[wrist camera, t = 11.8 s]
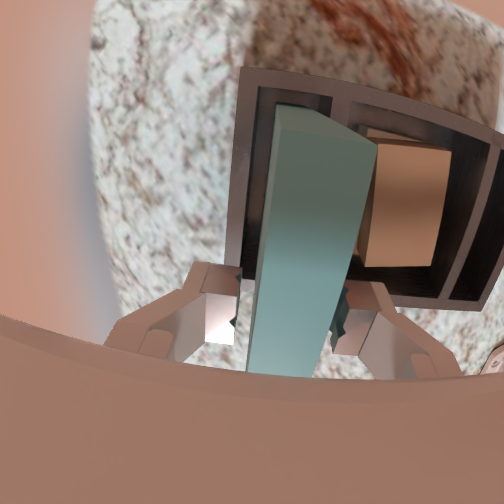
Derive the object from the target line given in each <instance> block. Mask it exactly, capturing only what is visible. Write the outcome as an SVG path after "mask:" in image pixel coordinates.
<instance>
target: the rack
mask: <svg viewBox="0 0 504 504" xmlns="http://www.w3.org/2000/svg"><path fill="white" fill-rule="evenodd" d="M276 102H283V103H290V104H297V105H304V106H307V107H309V108H311V109H313V110H315V111H317V112H319V113H321V114H323V115H325V116H326V117H328V118H330V119H332V120H334V121H336V122H338V123H340V124H341V125H343V126H345V127H347V128H349V129H350V130H352V131H354V132H356V133H357V130H358V124H362V125H367V126H371V127H376V128H380V129H384V130H388V131H392V132H396V133H400V134H404V135H407V136H411V137H415V138H418V139H422V140H425V141H428V142H431V143H434V144H436V145H438V146H440V147H443V148H445V149H447V150H449V151H451V160H450V168H449V176H448V183H447V189H446V195H445V201H444V207H443V212H442V217H441V222H440V227H439V232H438V236H437V241H436V245H435V249H434V253H433V257H432V261H431V265H430V266H394V267H365V266H364V264H363V262H362V259H361V257H360V255H355V254H352V257H351V261H350V264H349V267H348V271H347V274H346V278H345V280H356V281H369V282H382V283H383V284H384V285H385V287H386V289H387V291H388V293H389V296H390V298H391V300H392V302H393V304H394V306H396V307H409V308H424V309H440V310H458V311H478V312H481V310H482V309H483V307H484V305H485V303H486V301H487V299H488V297H489V295H490V293H491V291H492V289H493V287H494V285H495V283H496V281H497V279H498V277H499V275H500V272H501V270H502V268H503V266H504V134H502V133H499V132H497V131H495V130H493V129H491V128H488V127H486V126H484V125H482V124H479V123H477V122H475V121H472V120H470V119H467V118H465V117H462V116H460V115H457V114H455V113H452V112H449V111H447V110H444V109H441V108H438V107H435V106H432V105H430V104H427V103H424V102H420V101H417V100H414V99H411V98H408V97H404V96H401V95H398V94H394V93H390V92H387V91H383V90H379V89H375V88H371V87H367V86H363V85H359V84H354V83H350V82H345V81H340V80H335V79H330V78H325V77H319V76H314V75H307V74H301V73H294V72H287V71H279V70H271V69H261V68H250V67H241V70H240V79H239V89H238V99H237V109H236V119H235V130H234V141H233V153H232V164H231V176H230V189H229V201H228V214H227V228H226V242H225V257H224V265H229V266H236V267H243V268H242V280H241V286H240V291H245V292H253V293H254V287H255V278H256V268H257V258H258V248H259V239H260V229H261V221H262V213H263V205H264V197H265V189H266V181H267V173H268V164H269V156H270V148H271V139H272V131H273V123H274V114H275V106H276Z"/></svg>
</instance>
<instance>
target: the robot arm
mask: <svg viewBox="0 0 504 504" xmlns="http://www.w3.org/2000/svg"><path fill="white" fill-rule="evenodd" d="M242 268H243V267H236V266H229V265H222V264H216V263H210V262H201V261H194V262H193V264H192V266H191V269H190V271H189V273H188V276H187V278H186V280H185V283H184V285H183V287H182V290H180V289H176V290H174V291H172V292H171V293H169V294H167V295H165V296H163V297H161V298H159V299H157V300H155V301H153V302H152V303H150V304H148V305H146V306H144V307H142V308H140V309H138V310H136V311H134V312H133V313H131V314H129V315H127V316H125V317H123V318H121V319H119V320H118V321H117V322H116V324H115V325H114V327H113V329H112V331H111V332H110V334H109V336H108V338H107V340H106V341H105V343H104V345H103V346H102V345H98V344H94V343H90V342H86V341H83V340H79V339H76V338H72V337H68V336H65V335H62V334H58V333H55V332H52V331H49V330H45V329H42V328H39V327H36V326H32V325H30V324H27V323H24V322H21V321H18V320H15V319H13V318H10V317H7V316H4V315H2V314H0V504H504V344H503V345H502V346H500V347H498V348H497V349H495V350H494V351H493V352H492V353H491V355H490V356H489V358H488V360H487V362H486V364H485V366H484V367H483V369H482V371H481V373H480V374H477V375H468V376H463V374H462V371H461V369H460V367H459V365H458V363H457V361H456V358H455V356H454V354H453V352H451V351H450V350H449V349H448V348H446V347H445V346H444V345H442V344H441V343H440V342H439V341H437V340H436V339H435V338H433V337H432V336H431V335H430V334H428V333H427V332H426V331H424V330H423V329H422V328H420V327H419V326H418V325H416V324H415V323H414V322H413V321H411V320H410V319H409V318H407V317H406V316H405V315H403V314H402V313H397V311H396V309H395V306H394V304H393V302H392V300H391V298H390V296H389V293H388V291H387V289H386V287H385V285H384V284H383V283H382V282H369V281H356V280H345V281H344V284H343V287H342V291H341V294H340V297H339V300H338V303H337V307H336V310H335V313H334V316H333V319H332V322H331V325H330V328H329V330H330V331H331V332H332V335H331V338H330V340H331V346H332V352H333V354H341V355H354V356H358V358H359V359H360V360H361V361H362V362H363V364H364V365H365V366H366V367H367V368H368V370H369V371H370V372H371V373H372V374H373V376H374V377H375V378H376V379H377V380H359V379H327V378H309V377H294V376H282V375H271V374H261V373H252V372H244V371H235V370H228V369H220V368H213V367H207V366H200V365H194V364H188V363H182V362H184V361H185V360H186V359H187V358H188V357H189V356H190V355H191V354H193V353H194V352H195V351H196V350H197V349H198V348H199V347H200V346H202V345H203V344H204V343H205V341H207V342H216V343H225V344H233V339H234V334H235V327H236V320H237V315H238V308H239V299H240V286H241V280H242Z"/></svg>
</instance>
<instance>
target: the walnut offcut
mask: <svg viewBox="0 0 504 504" xmlns="http://www.w3.org/2000/svg"><path fill="white" fill-rule="evenodd" d="M366 139H368V140H370V141H371V142H373V143H375V144H376V145H378V149H377V154H376V159H375V164H374V168H373V173H372V178H371V182H370V186H369V191H368V195H367V199H366V204H365V208H364V212H363V216H362V220H361V224H360V228H359V234H358V242H357V250H358V253H359V255H360V257H361V259H362V262H363V264H364V266H365V267H394V266H430V265H431V261H432V257H433V253H434V249H435V245H436V241H437V236H438V232H439V227H440V222H441V217H442V212H443V207H444V201H445V195H446V189H447V183H448V176H449V168H450V160H451V151H449V150H447V149H444V148H442V147H440V146H438V145H436V144H432V143H425V142H417V141H408V140H398V139H388V138H376V137H366Z"/></svg>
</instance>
